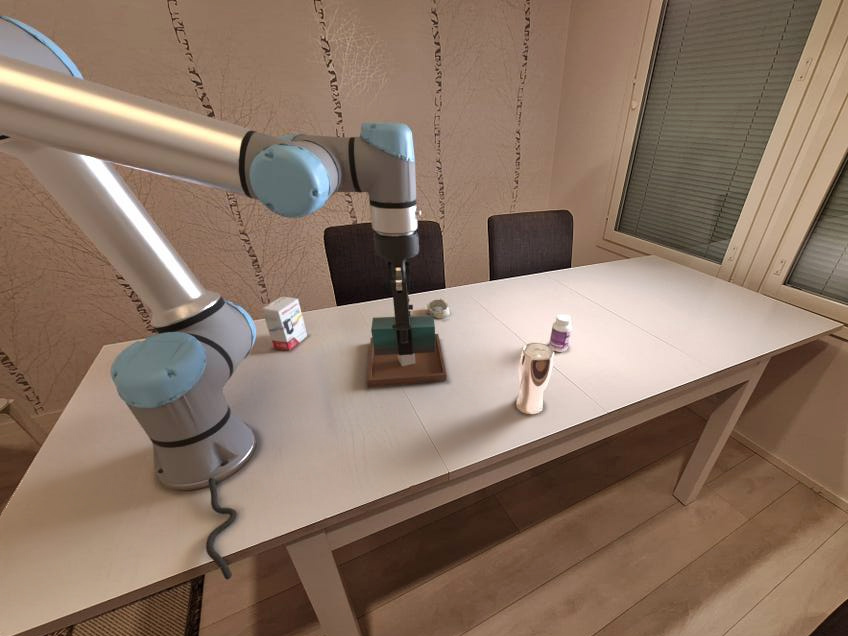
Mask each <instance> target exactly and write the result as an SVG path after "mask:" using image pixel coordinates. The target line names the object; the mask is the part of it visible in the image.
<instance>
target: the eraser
mask: <svg viewBox="0 0 848 636" xmlns="http://www.w3.org/2000/svg"><path fill="white" fill-rule="evenodd" d="M371 321H372V322H371V328H370V331H371V338H372V339H373V346H374V353H375V356H379V355H397V354H399V352H398V342H397V332H396V328H392V324H396V323H395V316H382V317H381V316H379V317H378V316H377V317H372V319H371ZM409 322H410V324H411V337H412V351H413V354H415V353H433V352H436V344H435V334H436V325H435V317H434V316H433V315H430V314H429V315H410V316H409Z"/></svg>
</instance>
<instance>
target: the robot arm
mask: <svg viewBox="0 0 848 636" xmlns="http://www.w3.org/2000/svg"><path fill="white" fill-rule="evenodd" d="M414 148H415V147H414V138H413V132H412V130H411V129H410V127H409V126H408V125H407V124H405V123H401V122H386V121H384V122H383V121H380V122H379V121H378V122H377V121H364V122H363V123H362V124H361V125H360V133H359V136H350V137H346V136H331V135H312V134H306V133H299V134H283V135H280V136H274V135H271V134H268V133H264V132H260V131H256V130H254V129H251V128H247V127H244V126H241V125H238V124H234V123H231V122H228V121H223V120H221V119H217V118H214V117H211V116H208V115H204V114H200V113H197V112H194V111H190V110H188V109H184V108H180V107H177V106H174V105H170V104H168V103H164V102H160V101H157V100H153V99H150V98H148V97H144V96H142V95H141V96H140V95H137V94H134V93H131V92H127V91H124V90H121V89H117V88H114V87H111V86H107V85H104V84H102V83H97V82H94V81H91V80H87V79H84V77H83V75H82V73H81V71H80V70H79V68H78V67H77V66H76V64H75V63H74V62H73V60H72V59H71V58H70V57H69V56H68V55H67V54H66V53H65V52H64V51H63V49H61V48H60V46H59V45H57V44H56V43H55V42H54V41H53V40H51V39H50V38H49V37H47V36H46V35H45V34H43V33H42V32H41V31H39V30H37V29H35V28H34V27H32V26H30V25H28V24H27V23H24V22H22V21H20V20H18V19H15V18H12V17H10V16H6V15H3V14H1V13H0V153H3V154H6V155H8V156H11V157H14V158H16V159H18V160H19V161H21V163H23V164H24V165H25V166H26V168H27V170H29V171H30V172H31V173H32V175H33V176H34V177H35V178H36V179H37V181H39V183H40V184H41V185H42V186H43V187H44V188H45V190H46V191H47V192H48V193H49V194H50V195H51V197H52V198H53V199H54V200H55V201H56V203H58V205H59V206H60V207H61V208H62V209H63V211H65V213H66V214H67V215H68V216H69V217H70V218H71V220H72V221H73V222H74V223H75V224H76V225H77V227H78V228H79V229H80V230H81V231H82V232H83V233H84V234H85V235H86V237H87V238H88V239H89V240H90V241H91V242H92V244H93V245H94V246H95V247H96V248H97V250H98V251H99V252H100V253H101V254H102V255H103V256H104V257H105V259H106V260H107V261H108V262H109V264H111V265H112V267H113V268H114V269H115V270H116V271H117V273H118V274H119V275H120V276H121V278H123V279H124V281H125V282H126V283H127V284H128V285H129V286H130V287H131V289H132V290H133V291H134V292H135V293H136V294H137V296H138V297H139V298H140V299H141V300H142V301H143V303H144V304H145V305H146V306H147V307H148V308H149V309H150V311H152V316H151V320H150V326H151V327H152V328H153V329H154V330H155V331H156V333H157V334H153V335H150V336H147V337H145V339H144V340H141V341H140V340H138V341H135V342H134V343H132V344H130V345H129V346H127V347H125V348H124V349H123V350H122V351H121V352H119V354H118V355H117V356H116V357H115V359H114V360H113V361H112V364H111V367H110V376H111V380H112V382H113V383H114V385H115V387H116V391H117V393H118V396H119V398H120V399H121V400H122V401H123V402H124V403H125V404H126V405H127V407H128V409H129V410H130V411H131V413H132V415H133V416H134V418H135V419H136V421H137V422H138V424H139V425H140V426H141V428H142V429H143V431H144V432H145V434H146V436H148V438H149V440H150V441H151V443H152V453H153V467H154V471H155V474H156V477H157V478H158V479H159V481H160V482H161V483H162V484H163V486H165V487H167V488H169V489H172V490H176V491H194V490H200V489H203V488H207V487H209V491H210V505H211V508H212V510H213V511H214V512H215V513H218V514H224V515H229V517H228V518H227V519H226V520H225V521H224V522H223V523H221V524H220V525H219V526H218V527H216V528H215V529H214V530H213V531H211V533H209V535H208V536H207V539H206V543H205V550H206V554H207V556H209V558H210V559H211V560H212V561H213V562H214V563H215V564H216V565H217V566H218V567H219V569H220V571H221V573H222V575H223V577H224V579H225V580H230V579H231V578H232V576H233V575H232V574H233V573H232V571H231V569H230V567H229V565H228V563H227V562H226V560H225V559H224V558H223V557H222V556H221V555H220V554H219V553H218V552H217V550H215V548H214V541H215V538H216V536H218V535H219V534H220V533H221V532H222V531H224V530H226V528H228V527H230V525H232V524H233V522H234V521H235V520H236V518H237V511H236V510H235V509H234V508H230V507H221V506H220V505H219V503H218V490H217V485H216V484H218V483H220V482H222V481H225V480H226V479H228V478H229V477H231V476H233V475H234V474H235V473H237V472H238V471H240V470H241V469H242V468H243V467H244V466H245V465H246V464H247V463H248V462H249V460H250V459H251V458H252V457H253V455H254V453H255V452H256V451H255V450H256V448H257V447H256V446H257V439H256V436H255V434H254V432H253V430H252V428H251V427H250V426H249V425H248V424H247V423H245V422H244V421H243V420H242V419H241V418H240V417H239V416H238V415H236V414H235V413H234V412H233V411H232V410H231V407H230V406H229V403H228V401H227V398H226V396H225V394H224V392H223V391H224V390H223V389H224V387H225V386H226V384H227V382H229V380H230V379H231V377H232V376H233V374H234V373H235V372H236V371H237V369H238V368H239V367H240V365H241V363H243V361H244V360H245V359H246V358H247V357H248V356H249V354H250V353H251V351H252V348H253V346H254V344H255V342H256V339H257V328H256V325H255V322H254V320H253V318H252V316H251V315H250V314H249V313H248V312H247V311H246V310H245V308H243V307H242V306H240V305H238V304H234V303H233V302H232V301H228V300H225V299H224V298H223V297H222V295H221V294H220V293H219V292H217V291H214V290H209V289H207V288H205V287H204V286H203V285H202V284H201V282H200V281H199V279H198V278H197V276H195V273H193V271H192V270H191V268H190V267H189V266H188V264H187V263H186V262H185V261H184V259H183V258H182V257H181V255H180V254H179V253H178V251H177V250H176V249H175V247H174V246H173V244H172V243H171V241H170V240H169V239H168V238H167V236H166V235H165V233H164V232H163V231H162V230H161V228H160V227H159V226H158V224H157V223H156V222H155V220H154V219H153V218H152V216H151V215H150V213H149V212H148V211H147V210H146V208H145V207H144V205H143V204H142V203H141V201H140V200H139V199H138V197H137V196H136V195H135V193H134V192H133V191H132V189H131V188H130V186H129V185H128V184H127V183H126V181H125V180H124V178H123V177H122V175H121V174H120V173H119V172H118V171H117V169H116V168H115V166H114V165H113V164H115V165H119V166H123V167H127V168H131V169H136V170H138V171H139V170H140V171H143V172H147V173H151V174H155V175H159V176H162V177H166V178H170V179H175V180H178V181H182V182H186V183H190V184H195V185H198V186H202V187H207V188H210V189H214V190H218V191H222V192H225V193H229V194H233V195H237V196H241V197H245V198H249V199H252V200H257V201H259V202H260V204H262V205H263V206H264V207H266V208H267V210H269V211H271V212H273V213H274V214H276V215H278V216H280V217H284V218H287V219H300V218H304V217H307V216H309V215H312V214H314V213H315V212H317V211H319V210H320V209H321V208H323V207H324V206H325V204H326V203H327V202H328V200H329V199H330V198H331V197H332V196H334V195H335V194H336V193H367V195H368V202H369V213H370V221H371V228H372V230H373V231H374V232H373V236H372V237H373V244H374V251H375V254H376V255H377V256H378V257H380V258H382V259H387V260H390V261H387V266H386V269H387V270H386V271H387V277H388V278H389V288H390V291H391V292H392V301H393V312H394V317H395V323H396V324H392V328H396V332H397V342H398V352H399V355H413V351H412V337H411V324H410V322H409V316H411V311H412V310H414V304H410V297H409V292H410V290H411V282H410V281H411V280H410V277H411V262H410V261H409V260H408V259H412V258H415V257H416V256H417V255H418V254H419V253H420V238H419V233H418V231H417V229H418V217H420V216H421V215H422V211H421V210H420V209H417V206H418V205H417V183H416V181H417V180H416V157H415V150H414ZM225 565H227V566H225ZM220 567H221V568H220Z"/></svg>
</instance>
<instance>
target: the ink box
mask: <svg viewBox="0 0 848 636" xmlns="http://www.w3.org/2000/svg"><path fill="white" fill-rule="evenodd" d="M299 301H300V300H299V299H298V298H297V297H296V298H295V297H289V296H280V297H278V298H276V299H275V300H273V301H272V302H270V303H268V304H267V305H265V306H263V307H262V309H261V311H262V314H263V318H264V321H265V324H266V327H267V330H268V333H269V337H270V339H271V343H272V346H273V349H275V350H281V351H288V352H290V351H292V349H294V348H295V347H296V346H297V345H299V344H300V343H301V342H302V341H303V340H304V339H306V338H307V337H308V333H307V329H306V325H305V321H304V317H303V313H302V310H301V309H302V308H301V306H300V302H299Z"/></svg>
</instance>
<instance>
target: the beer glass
mask: <svg viewBox="0 0 848 636" xmlns="http://www.w3.org/2000/svg"><path fill="white" fill-rule="evenodd" d="M520 354H521V355H520V358H519V363H518V383H519V393H518V397H517V399H516V402H515V405H516V408H517V410H519V411H520V412H522V413H523V414H527V415H536V414H539V413H541V411H542V410H543V409H544V401H543V399H544V393H545V391H546V388H547V386H548V384H549V381H550V379H551V375H552V371H553V365H554V356H555V351H554V350H553V349H552V348H551V347H549V345H548V344H544V343H541V342H529V343H527V344H525V345H523V347H522V349H521V353H520Z"/></svg>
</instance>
